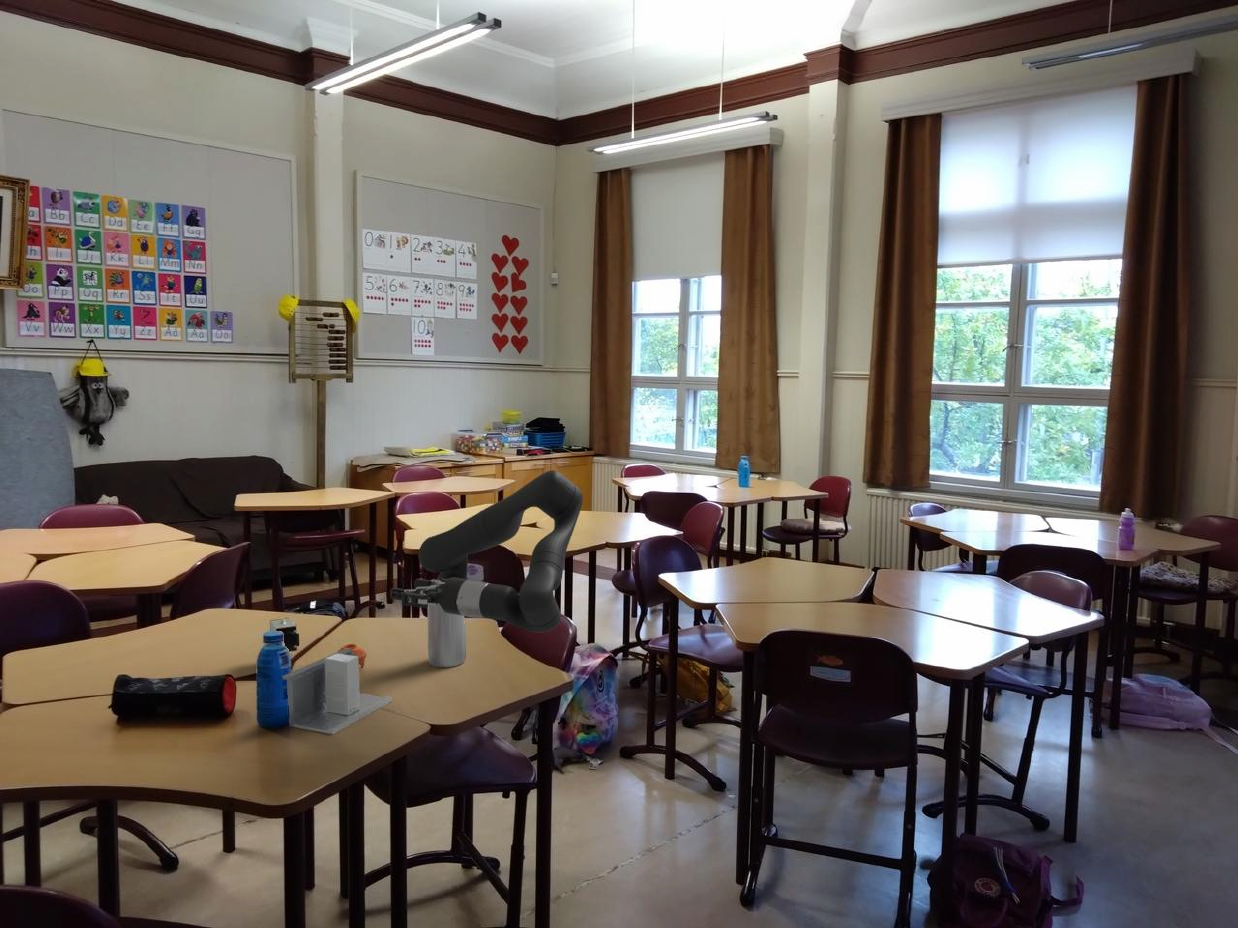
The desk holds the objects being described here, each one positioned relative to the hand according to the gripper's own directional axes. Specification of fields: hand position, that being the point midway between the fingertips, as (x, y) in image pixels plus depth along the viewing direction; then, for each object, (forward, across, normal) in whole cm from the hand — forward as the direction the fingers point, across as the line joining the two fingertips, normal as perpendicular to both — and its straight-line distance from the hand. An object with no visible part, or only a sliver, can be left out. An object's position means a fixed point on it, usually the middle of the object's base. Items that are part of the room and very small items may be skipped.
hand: (403, 588), depth 188 cm
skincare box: (+13, +4, +28) cm, 31 cm away
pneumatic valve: (+47, -16, +30) cm, 58 cm away
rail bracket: (+14, +4, +29) cm, 32 cm away
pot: (+30, -20, +29) cm, 47 cm away
